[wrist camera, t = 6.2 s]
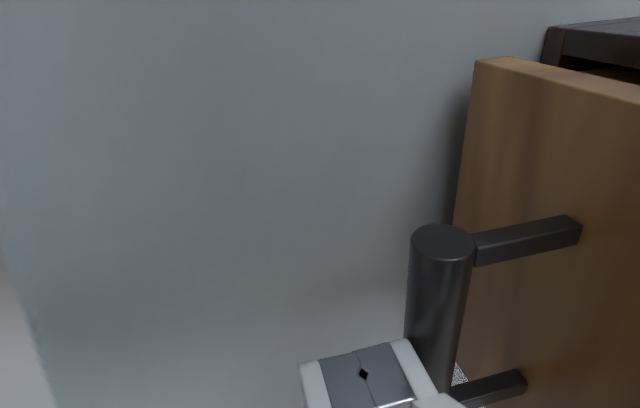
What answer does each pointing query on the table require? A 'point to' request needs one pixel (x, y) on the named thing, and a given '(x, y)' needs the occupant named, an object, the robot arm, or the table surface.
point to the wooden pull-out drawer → (537, 244)
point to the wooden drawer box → (593, 45)
